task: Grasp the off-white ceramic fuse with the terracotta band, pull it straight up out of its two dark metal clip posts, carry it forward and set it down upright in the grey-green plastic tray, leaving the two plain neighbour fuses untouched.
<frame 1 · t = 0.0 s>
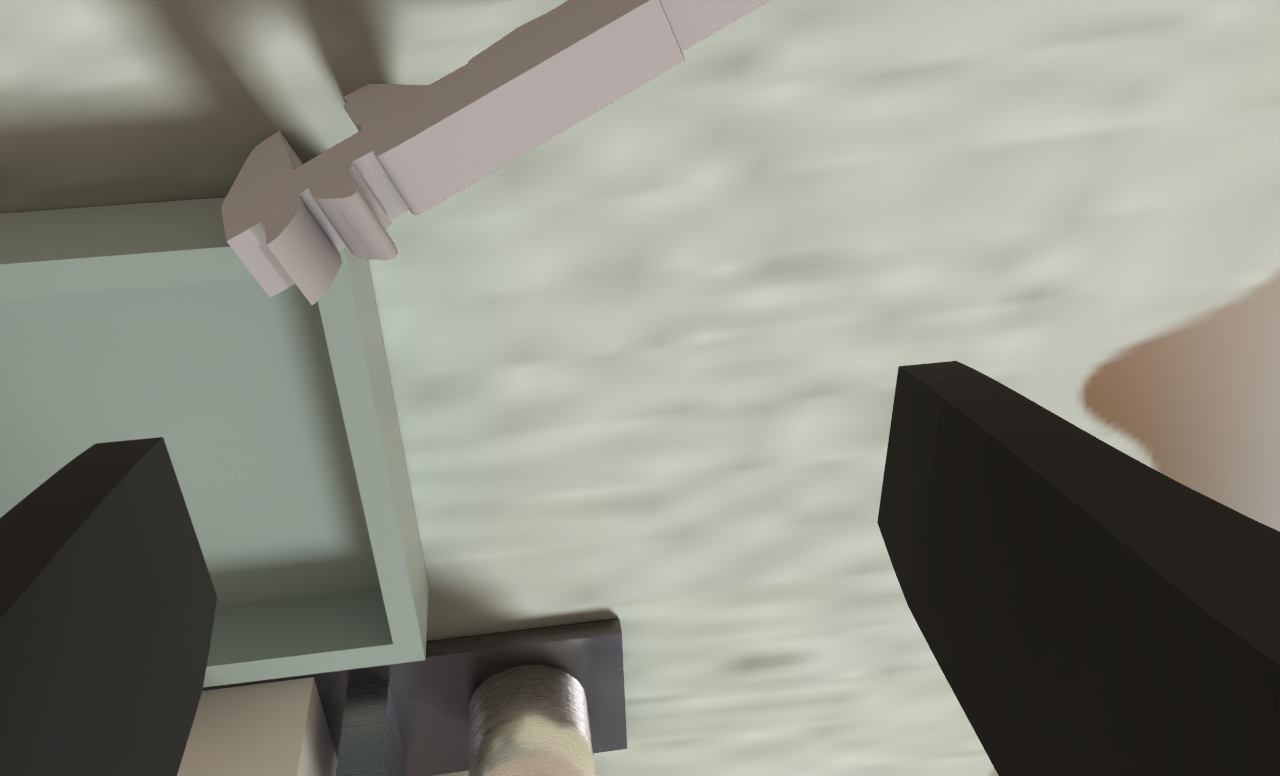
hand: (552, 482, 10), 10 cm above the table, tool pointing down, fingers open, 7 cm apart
fuse: (247, 742, 25), resting on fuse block
tray: (149, 436, 21), on the table
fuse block: (251, 726, 25), on the table
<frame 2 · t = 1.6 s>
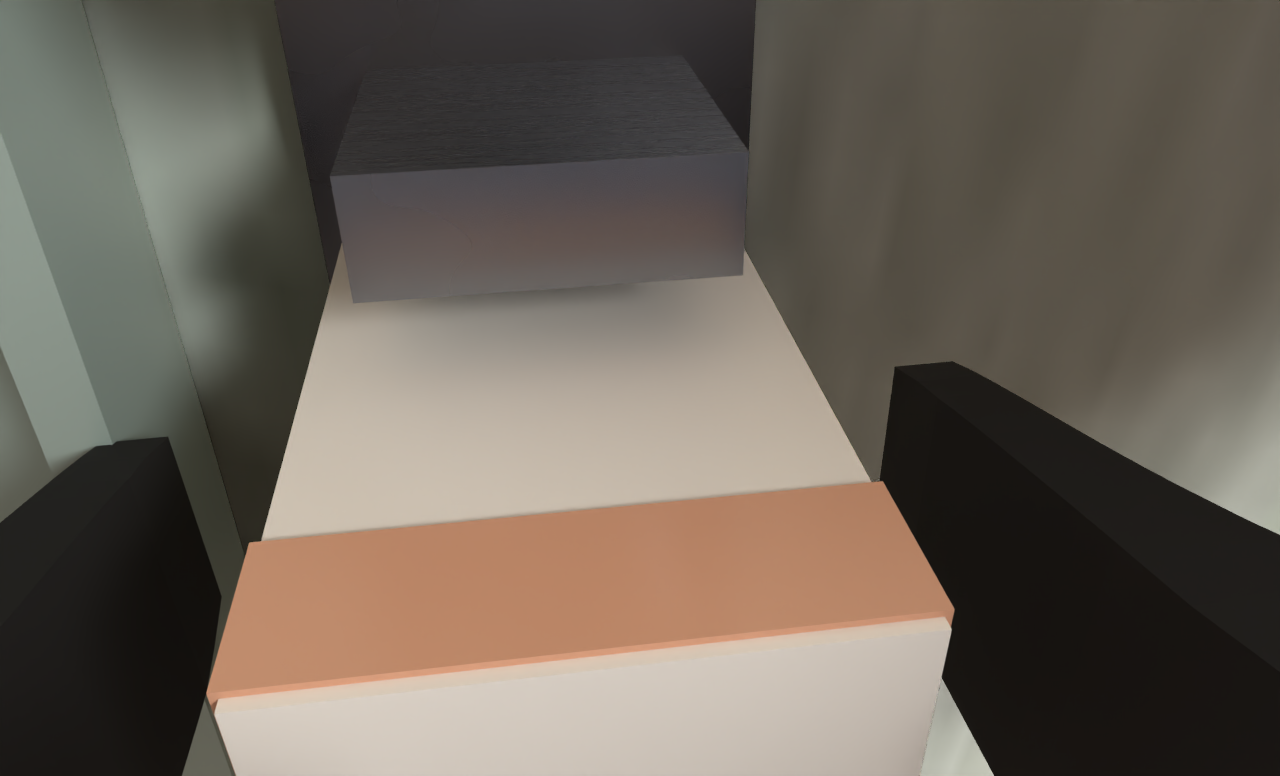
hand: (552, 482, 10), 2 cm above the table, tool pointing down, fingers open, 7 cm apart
fuse: (549, 390, 12), resting on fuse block
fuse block: (547, 368, 12), on the table
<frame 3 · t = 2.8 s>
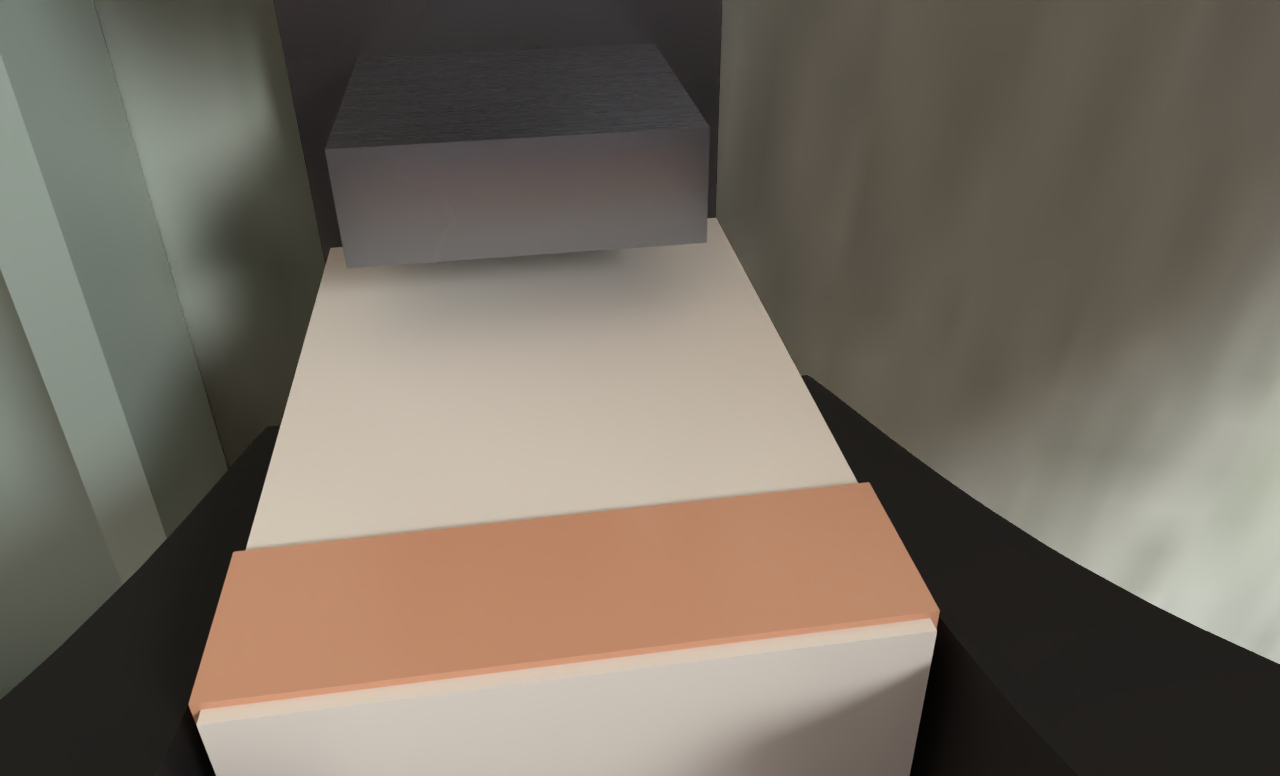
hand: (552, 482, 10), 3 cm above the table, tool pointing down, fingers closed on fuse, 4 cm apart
fuse: (541, 394, 11), point 1 cm above the table, touching gripper
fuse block: (531, 343, 13), on the table
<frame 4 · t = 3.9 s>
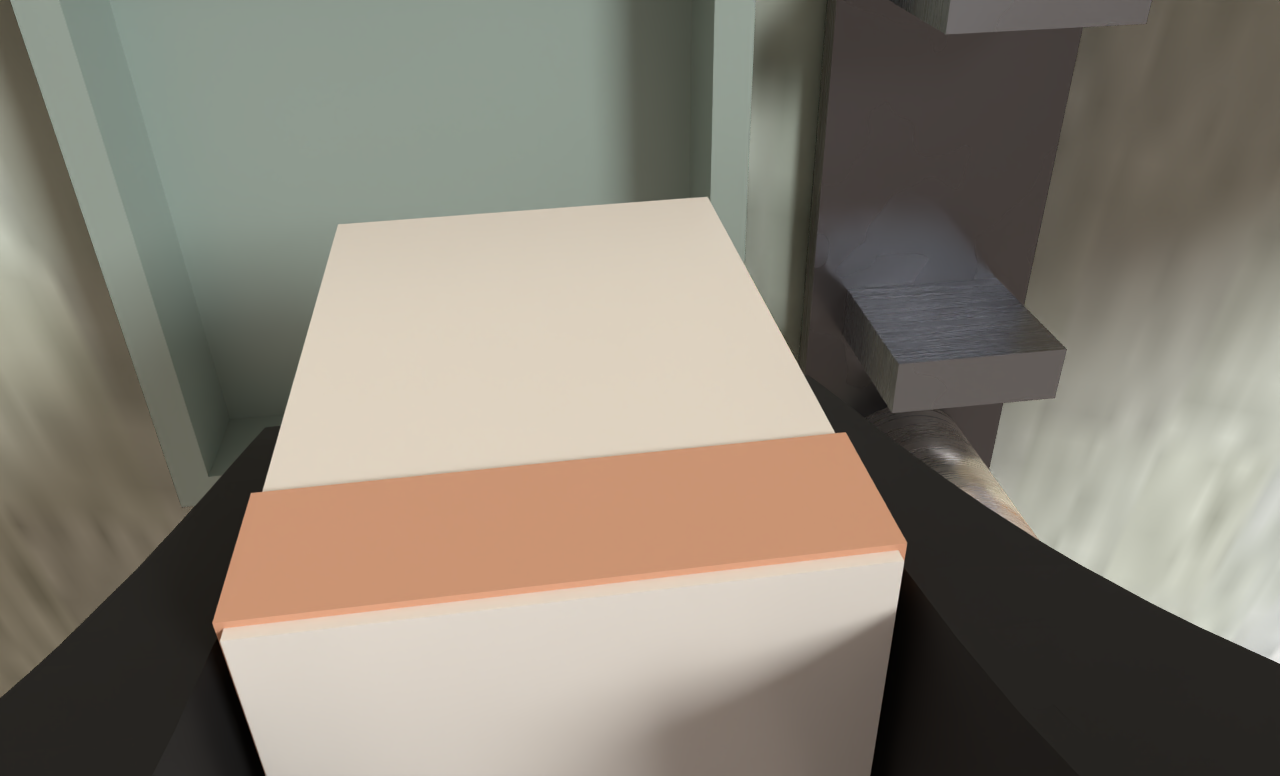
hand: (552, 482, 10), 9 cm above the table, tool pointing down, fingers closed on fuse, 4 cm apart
fuse: (540, 367, 12), point 7 cm above the table, touching gripper
tray: (436, 171, 17), on the table
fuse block: (932, 139, 18), on the table
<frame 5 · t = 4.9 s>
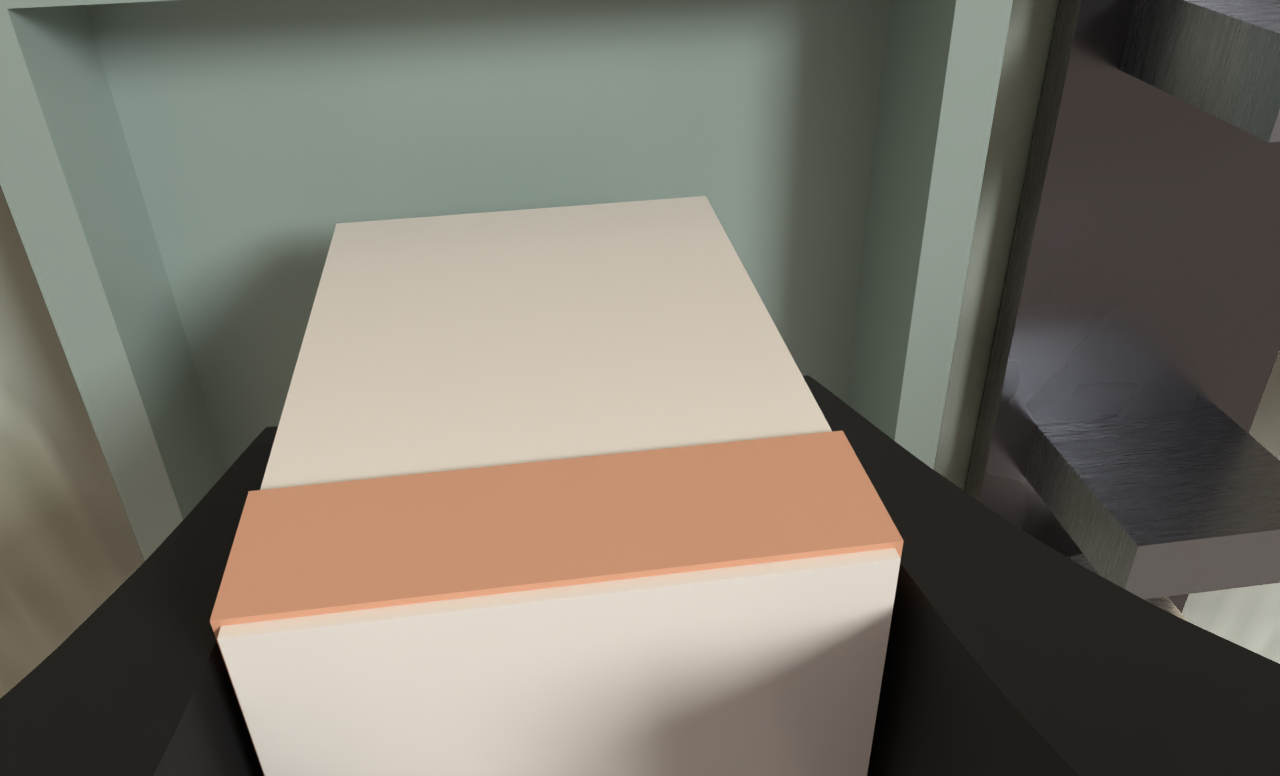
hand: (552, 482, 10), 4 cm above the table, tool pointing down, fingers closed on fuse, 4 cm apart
fuse: (538, 367, 12), point 2 cm above the table, touching gripper
tray: (533, 295, 14), on the table
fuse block: (1154, 243, 15), on the table
when the fingers open (3 cm above the table, at t = 5.5 s): fuse stays where it is, resting on tray.
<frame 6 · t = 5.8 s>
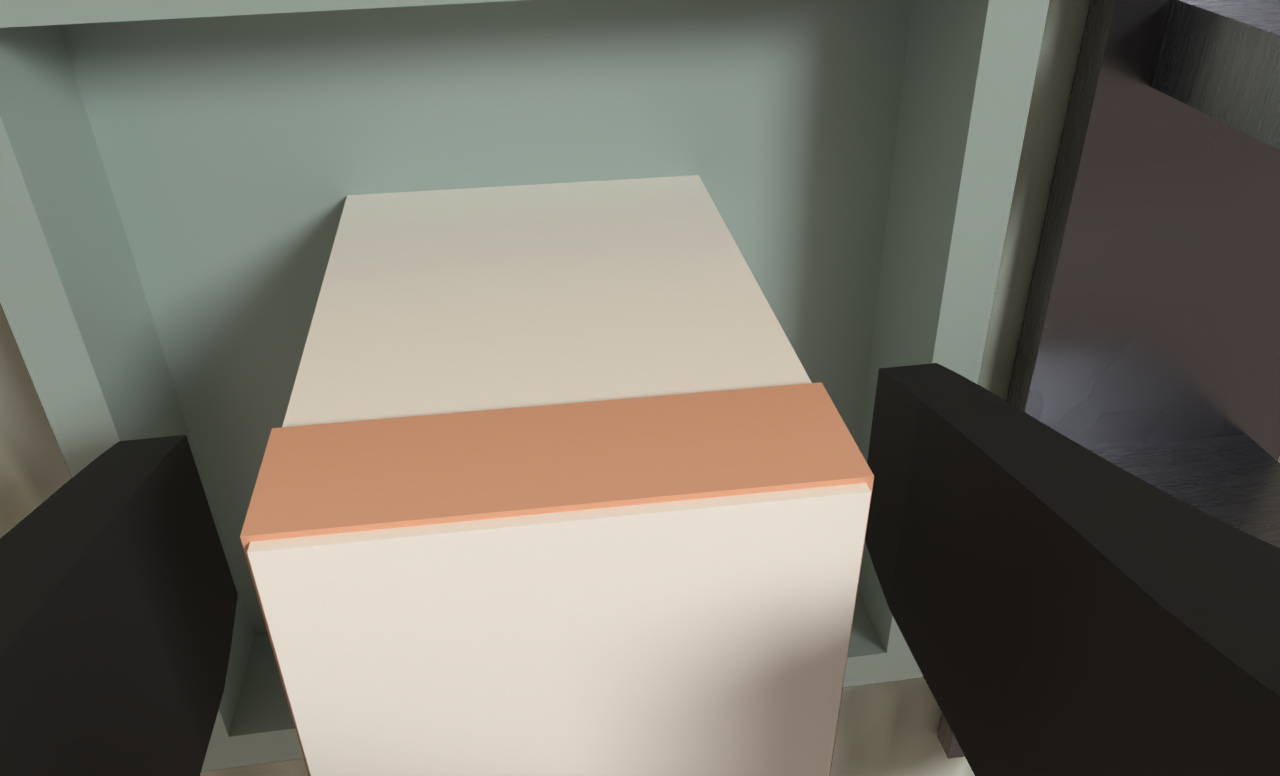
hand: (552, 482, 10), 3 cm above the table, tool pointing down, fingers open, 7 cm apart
fuse: (537, 337, 13), resting on tray
tray: (534, 322, 13), on the table
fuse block: (1182, 265, 14), on the table
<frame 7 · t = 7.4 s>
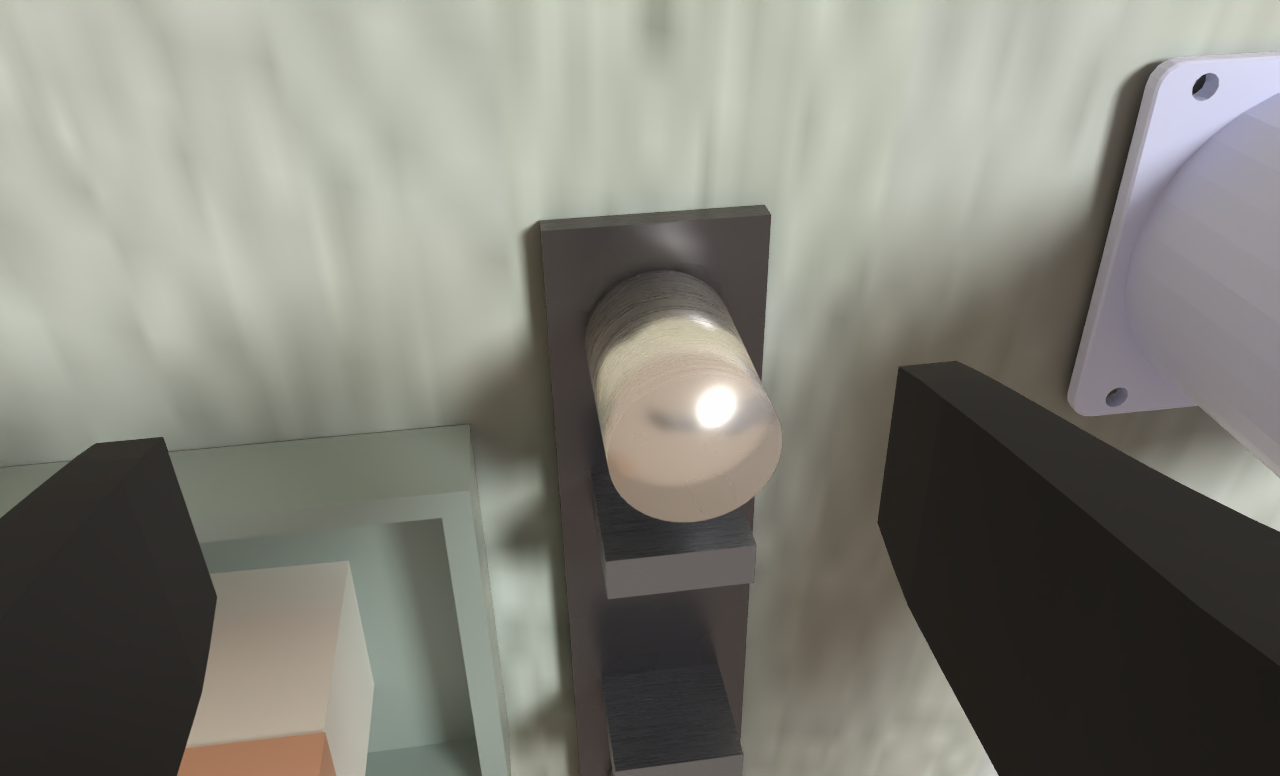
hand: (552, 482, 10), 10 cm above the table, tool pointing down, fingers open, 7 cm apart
fuse: (272, 634, 23), resting on tray
tray: (276, 620, 23), on the table
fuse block: (656, 577, 24), on the table
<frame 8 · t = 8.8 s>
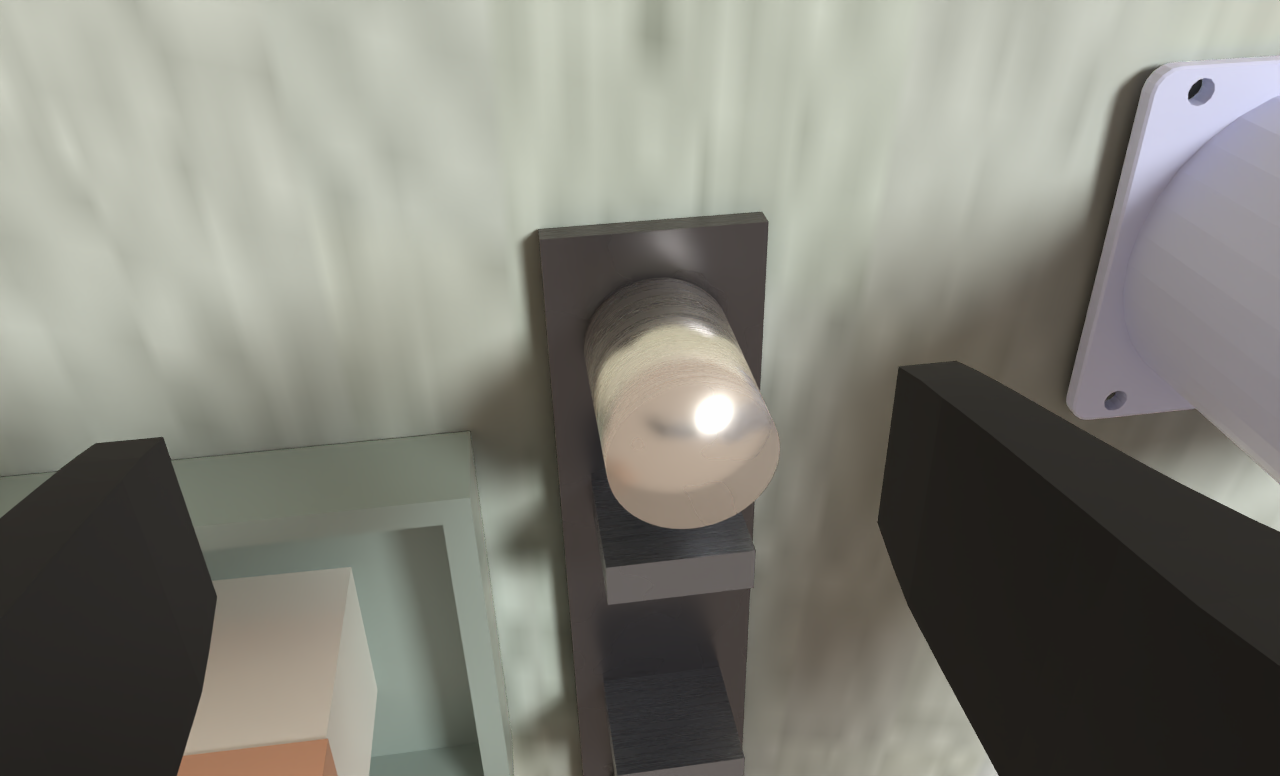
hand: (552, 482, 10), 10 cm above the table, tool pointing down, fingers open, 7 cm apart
fuse: (276, 640, 23), resting on tray
tray: (279, 626, 24), on the table
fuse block: (657, 582, 25), on the table
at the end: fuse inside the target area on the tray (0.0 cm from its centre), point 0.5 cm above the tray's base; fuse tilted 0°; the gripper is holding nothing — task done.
